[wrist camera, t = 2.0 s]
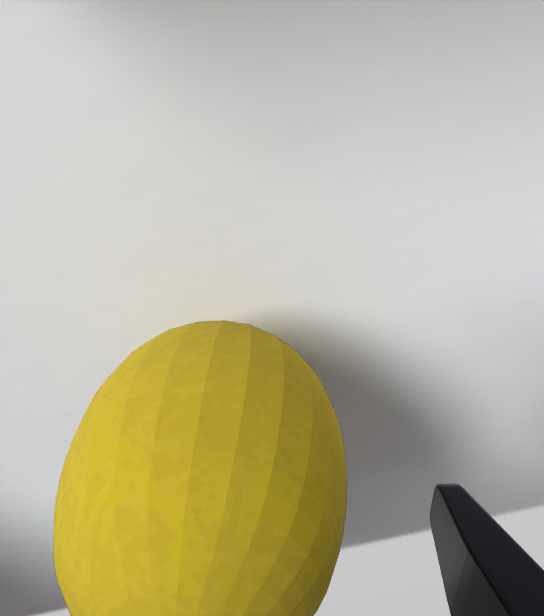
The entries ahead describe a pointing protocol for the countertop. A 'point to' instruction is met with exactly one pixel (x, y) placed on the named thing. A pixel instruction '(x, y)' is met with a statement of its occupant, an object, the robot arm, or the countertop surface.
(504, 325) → the countertop surface
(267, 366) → the lemon
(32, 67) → the countertop surface
